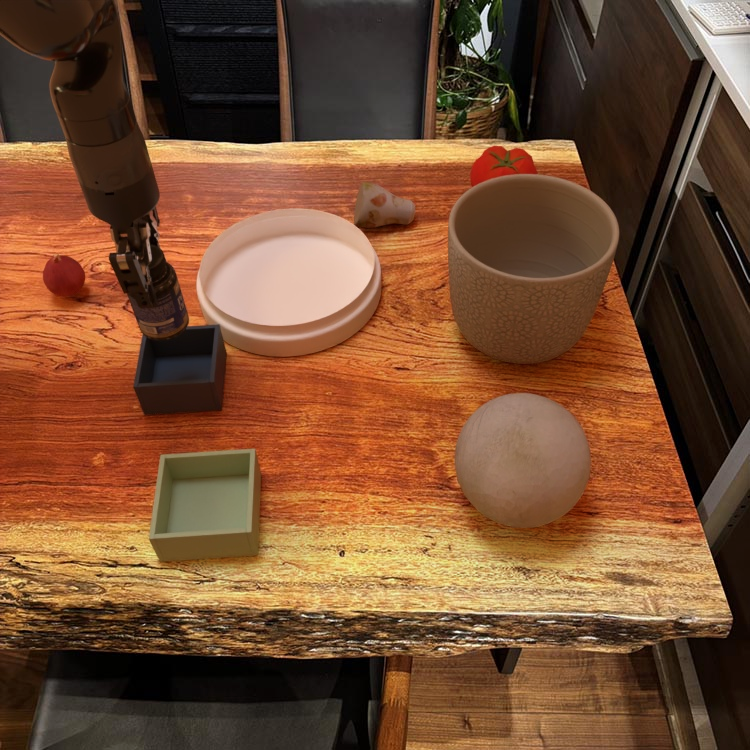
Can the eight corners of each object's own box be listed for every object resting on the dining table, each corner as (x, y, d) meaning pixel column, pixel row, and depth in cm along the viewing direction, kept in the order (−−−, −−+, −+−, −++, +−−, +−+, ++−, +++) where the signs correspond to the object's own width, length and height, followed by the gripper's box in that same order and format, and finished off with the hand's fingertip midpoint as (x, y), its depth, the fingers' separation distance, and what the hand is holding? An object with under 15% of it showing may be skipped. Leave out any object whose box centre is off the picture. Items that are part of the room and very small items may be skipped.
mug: (421, 235, 128) (392, 199, 120) (368, 250, 132) (337, 217, 124) (422, 197, 131) (393, 160, 123) (370, 214, 135) (339, 179, 128)
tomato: (458, 202, 132) (461, 164, 127) (488, 168, 138) (491, 130, 133) (517, 223, 129) (522, 184, 123) (545, 187, 135) (551, 148, 129)
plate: (207, 372, 110) (199, 345, 106) (195, 247, 127) (188, 219, 123) (399, 339, 113) (399, 311, 109) (362, 221, 130) (360, 193, 126)
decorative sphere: (456, 553, 91) (463, 480, 80) (447, 445, 101) (453, 366, 89) (589, 551, 91) (615, 477, 79) (568, 443, 100) (588, 363, 89)
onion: (44, 298, 120) (25, 258, 114) (73, 276, 123) (56, 236, 117) (70, 313, 118) (52, 273, 112) (99, 291, 121) (83, 250, 115)
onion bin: (159, 562, 91) (148, 538, 87) (170, 479, 99) (160, 454, 95) (258, 555, 91) (251, 532, 87) (261, 473, 99) (255, 448, 95)
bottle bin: (144, 415, 105) (132, 387, 101) (153, 357, 112) (143, 328, 107) (222, 410, 105) (214, 382, 101) (226, 353, 112) (219, 324, 108)
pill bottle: (197, 329, 99) (178, 262, 91) (151, 350, 97) (127, 283, 89) (177, 300, 102) (157, 233, 94) (132, 320, 100) (108, 252, 92)
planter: (438, 281, 120) (443, 175, 106) (578, 277, 120) (601, 170, 105) (448, 388, 107) (455, 283, 92) (605, 384, 106) (636, 278, 92)
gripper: (88, 128, 87) (129, 248, 99) (62, 211, 77) (110, 332, 90) (158, 124, 87) (189, 244, 99) (140, 207, 77) (178, 328, 90)
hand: (152, 285), depth 95 cm, fingers closed on pill bottle, 6 cm apart
